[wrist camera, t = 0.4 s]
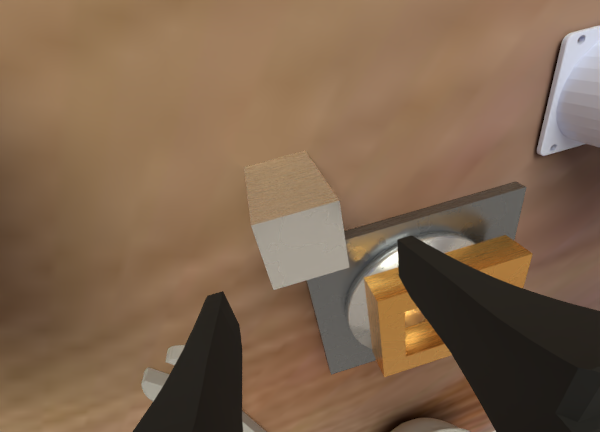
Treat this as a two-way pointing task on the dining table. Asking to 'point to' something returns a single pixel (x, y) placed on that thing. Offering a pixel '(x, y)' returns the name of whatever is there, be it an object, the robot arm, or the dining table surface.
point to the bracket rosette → (390, 290)
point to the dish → (427, 426)
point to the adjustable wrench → (157, 379)
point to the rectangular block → (295, 219)
